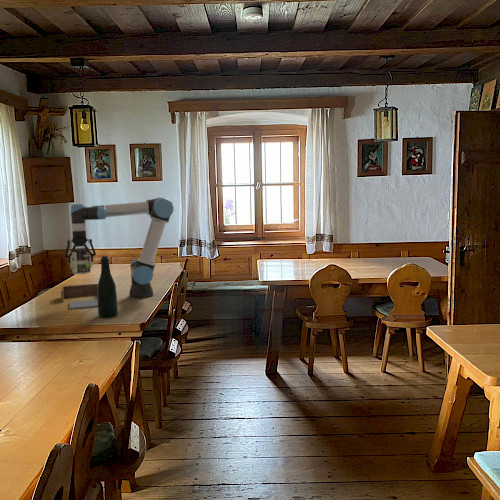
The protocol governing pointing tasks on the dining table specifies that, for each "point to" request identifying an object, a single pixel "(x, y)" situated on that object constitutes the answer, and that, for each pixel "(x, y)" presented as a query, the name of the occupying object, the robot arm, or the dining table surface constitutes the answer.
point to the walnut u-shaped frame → (78, 290)
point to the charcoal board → (83, 304)
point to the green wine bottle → (106, 292)
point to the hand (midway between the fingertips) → (81, 268)
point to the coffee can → (80, 261)
